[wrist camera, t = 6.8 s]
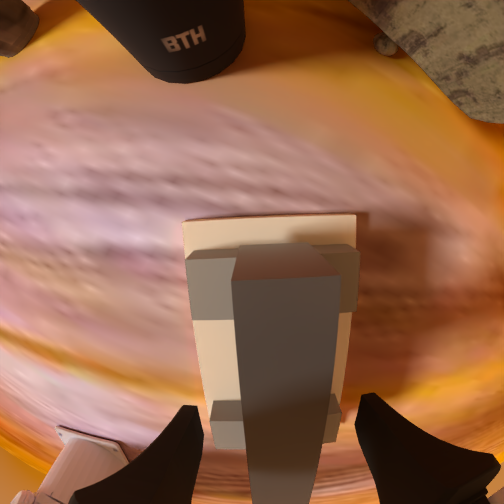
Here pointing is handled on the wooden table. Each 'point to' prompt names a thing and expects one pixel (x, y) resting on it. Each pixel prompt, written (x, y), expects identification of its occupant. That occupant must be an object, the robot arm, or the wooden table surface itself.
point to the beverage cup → (15, 26)
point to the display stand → (221, 307)
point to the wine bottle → (175, 34)
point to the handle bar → (284, 363)
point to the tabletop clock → (449, 47)
